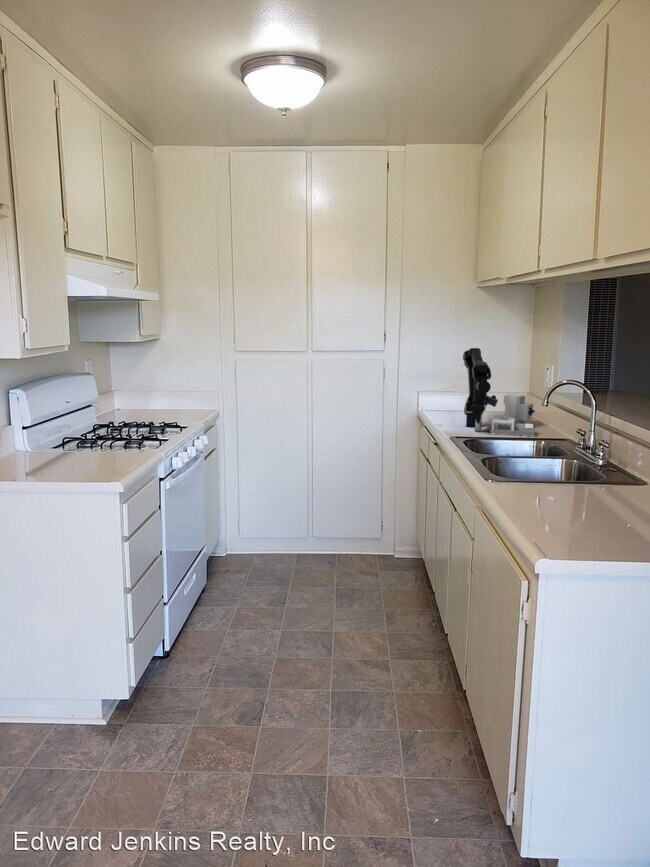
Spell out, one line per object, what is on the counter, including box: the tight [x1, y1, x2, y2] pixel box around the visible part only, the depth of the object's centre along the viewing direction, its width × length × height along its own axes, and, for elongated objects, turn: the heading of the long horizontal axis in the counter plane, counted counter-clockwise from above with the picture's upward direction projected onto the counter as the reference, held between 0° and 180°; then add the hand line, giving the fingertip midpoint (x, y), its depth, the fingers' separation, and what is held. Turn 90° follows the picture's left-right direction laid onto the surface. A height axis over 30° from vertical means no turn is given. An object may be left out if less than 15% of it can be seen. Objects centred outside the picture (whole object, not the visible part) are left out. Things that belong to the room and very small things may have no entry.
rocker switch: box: [524, 423, 534, 428], centre depth 307 cm, size 4×4×1 cm
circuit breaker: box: [502, 393, 536, 427], centre depth 328 cm, size 8×14×15 cm, turn 53°
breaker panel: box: [489, 416, 536, 437], centre depth 309 cm, size 20×12×6 cm, turn 72°
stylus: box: [474, 414, 483, 432], centre depth 313 cm, size 3×3×10 cm
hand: (478, 422), depth 313 cm, fingers closed on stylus, 3 cm apart
